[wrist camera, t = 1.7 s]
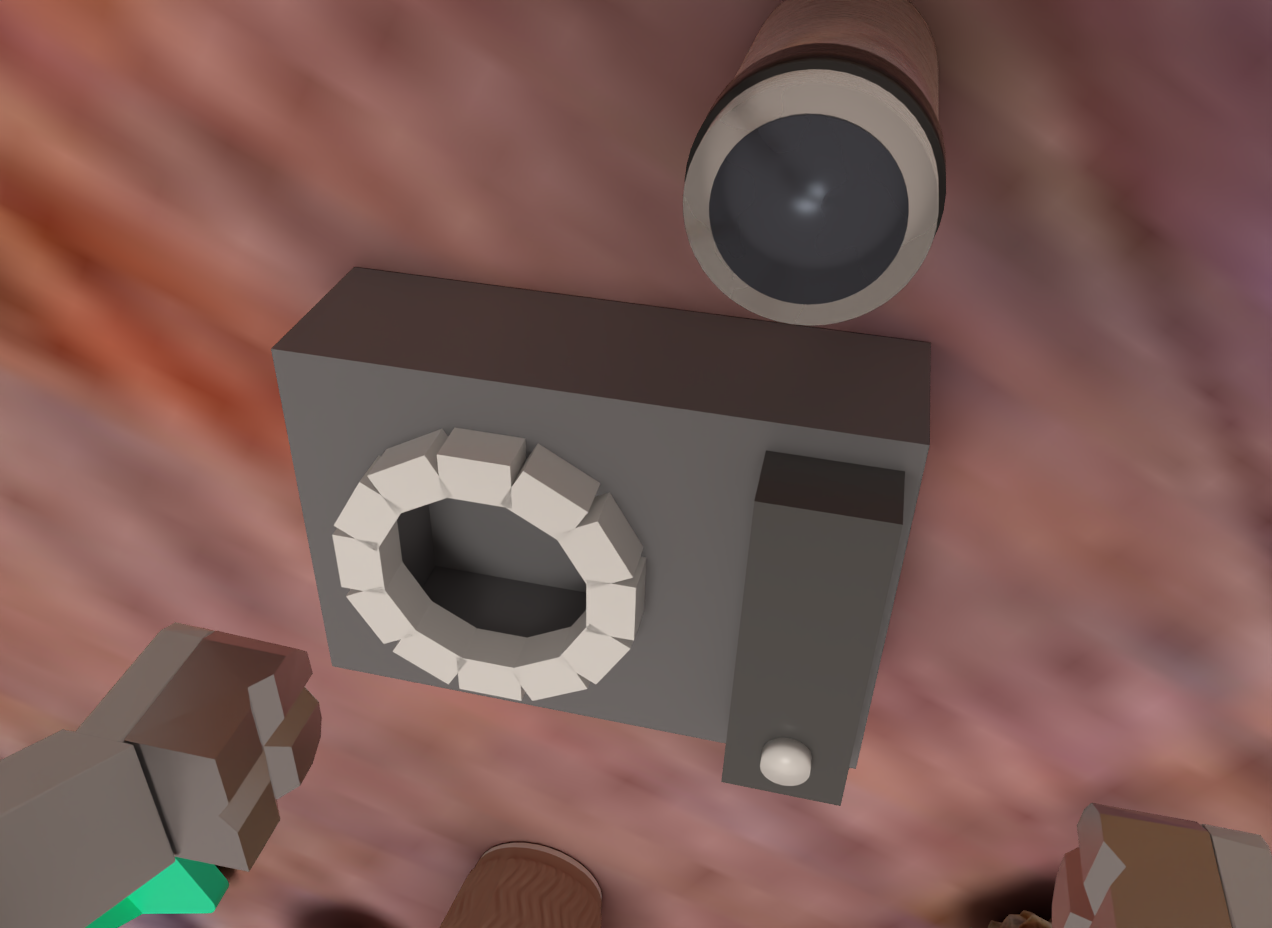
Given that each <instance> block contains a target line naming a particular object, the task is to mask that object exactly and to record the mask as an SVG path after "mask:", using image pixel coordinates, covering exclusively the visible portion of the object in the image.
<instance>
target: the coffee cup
mask: <svg viewBox="0 0 1272 928" xmlns="http://www.w3.org/2000/svg"><path fill="white" fill-rule="evenodd" d="M601 900H602V895H601V890H600V887H599V885H598V883H597V881H596V880H595V879H594V877H593V876H592V875H591V873H590V872H589V871H588V870H587V869H586V868H585V867H584V866H582V865H581V864H580V863H579V862H577V861H576V860H574V859H573V858H571V857H569V856H568V855H566V854H564V853H562V852H560V851H557V850H554V849H552V848H549V847H546V846H542V845H538V844H532V843H507V844H502V845H499V846H496V847H493V848H491V849H490V850H488V851H487V852H485V853H484V855H483V856H482V857H481V858H480V860H479V861H478V863H477V865H476V866H475V868H474V869H473V870H471V872H470V874H469V875H468V876H467V878H466V880H465V882H464V884H463V886H462V887H461V889H460V891H459V893H458V895H457V897H456V898H455V900H454V902H453V904H452V906H451V908H450V909H449V911H448V913H447V915H446V917H445V918H444V920H443V922H442V924H441V926H440V928H601V921H602V920H601V905H602V902H601Z"/></svg>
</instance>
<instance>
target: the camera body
mask: <svg viewBox="0 0 1272 928" xmlns="http://www.w3.org/2000/svg"><path fill="white" fill-rule="evenodd" d="M271 351H272V356H273V361H274V366H275V371H276V377H277V382H278V387H279V392H280V397H281V403H282V408H283V413H284V418H285V423H286V428H287V434H288V439H289V444H290V449H291V454H292V460H293V465H294V470H295V475H296V480H297V486H298V491H299V496H300V501H301V506H302V511H303V517H304V522H305V527H306V532H307V537H308V543H309V548H310V553H311V558H312V563H313V569H314V574H315V579H316V584H317V589H318V594H319V600H320V605H321V610H322V615H323V620H324V626H325V631H326V636H327V641H328V646H329V651H330V657H331V662H332V666H334V667H340V668H345V669H350V670H355V671H360V672H365V673H370V674H375V675H380V676H385V677H390V678H396V679H401V680H406V681H411V682H416V683H421V684H426V685H431V686H436V687H441V688H446V689H452V690H457V691H462V692H467V693H472V694H477V695H482V696H487V697H492V698H497V699H502V700H508V701H513V702H518V703H523V704H528V705H533V706H538V707H543V708H548V709H553V710H558V711H564V712H569V713H574V714H579V715H584V716H589V717H594V718H599V719H604V720H609V721H614V722H620V723H625V724H630V725H635V726H640V727H645V728H650V729H655V730H660V731H665V732H670V733H675V734H681V735H686V736H691V737H696V738H701V739H706V740H711V741H716V742H721V743H726V748H725V756H724V765H723V773H722V782H725V783H730V784H735V785H740V786H745V787H750V788H755V789H760V790H764V791H769V792H774V793H779V794H784V795H789V796H794V797H799V798H804V799H809V800H814V801H819V802H824V803H829V804H834V805H839V806H841V801H842V797H843V792H844V788H845V783H846V779H847V774H848V770H849V768H854V769H856V766H857V761H858V757H859V752H860V748H861V744H862V739H863V735H864V731H865V726H866V722H867V717H868V713H869V709H870V704H871V700H872V695H873V691H874V687H875V682H876V678H877V674H878V669H879V665H880V660H881V656H882V652H883V647H884V643H885V638H886V634H887V630H888V625H889V621H890V616H891V612H892V608H893V603H894V599H895V595H896V590H897V586H898V581H899V577H900V573H901V568H902V564H903V559H904V555H905V551H906V546H907V542H908V537H909V533H910V529H911V524H912V520H913V516H914V511H915V507H916V502H917V498H918V494H919V489H920V485H921V480H922V476H923V472H924V467H925V463H926V458H927V454H928V450H929V445H930V355H931V343H928V342H920V341H912V340H905V339H897V338H890V337H882V336H874V335H867V334H859V333H852V332H844V331H836V330H829V329H821V328H813V327H806V326H798V325H791V324H783V323H775V322H768V321H760V320H753V319H745V318H737V317H730V316H722V315H715V314H707V313H699V312H692V311H684V310H676V309H669V308H661V307H654V306H646V305H638V304H631V303H623V302H616V301H608V300H600V299H593V298H585V297H578V296H570V295H562V294H555V293H547V292H539V291H532V290H524V289H517V288H509V287H501V286H494V285H486V284H479V283H471V282H463V281H456V280H448V279H441V278H433V277H425V276H418V275H410V274H402V273H395V272H387V271H380V270H372V269H364V268H357V267H354V268H353V269H352V270H351V271H350V272H349V273H348V274H347V275H346V276H345V277H344V278H343V279H342V280H340V281H339V282H338V283H337V284H336V285H335V286H334V287H333V288H332V289H331V290H330V291H329V292H328V293H327V294H326V295H325V296H324V297H323V298H322V299H321V300H320V301H319V302H318V303H317V304H316V305H315V306H314V307H313V308H312V309H311V310H310V311H309V312H308V313H307V314H306V315H305V316H304V317H303V318H302V319H301V320H300V321H299V322H298V323H297V324H296V325H295V326H294V327H293V328H292V329H291V330H290V331H289V332H288V333H287V334H286V335H285V336H284V337H283V338H282V339H281V340H280V341H279V342H278V343H276V344H275V345H274V346H273V347H272V348H271Z"/></svg>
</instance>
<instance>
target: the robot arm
mask: <svg viewBox="0 0 1272 928" xmlns="http://www.w3.org/2000/svg"><path fill="white" fill-rule="evenodd" d="M312 674H313V673H312V669H311V665H310V661H309V658H308V654H307V652H306V651H303V650H299V649H296V648H291V647H287V646H282V645H278V644H273V643H269V642H264V641H260V640H256V639H251V638H247V637H242V636H238V635H233V634H229V633H224V632H220V631H214V630H209V629H205V628H200V627H195V626H190V625H186V624H181V623H176V622H175V623H174V624H172V625H170V626H168V627H166V628H164V629H162V630H161V631H160V632H159V633H158V634H157V635H156V636H155V638H154V639H153V640H152V641H151V642H150V644H149V645H148V646H147V647H146V648H145V649H144V651H143V652H142V653H141V654H140V655H139V657H138V658H137V659H136V660H135V661H134V663H133V664H132V665H131V666H130V667H129V668H128V670H127V671H126V672H125V673H124V674H123V676H122V677H121V678H120V679H119V680H118V681H117V683H116V684H115V685H114V686H113V687H112V689H111V690H110V691H109V692H108V693H107V695H106V696H105V697H104V698H103V699H102V700H101V702H100V703H99V704H98V705H97V706H96V708H95V709H94V710H93V711H92V712H91V714H90V715H89V716H88V717H87V718H86V719H85V721H84V722H83V723H82V724H81V725H80V727H79V728H78V729H77V730H76V731H75V732H74V731H69V730H61V731H59V732H57V733H55V734H53V735H51V736H49V737H47V738H45V739H43V740H41V741H39V742H37V743H35V744H32V745H30V746H28V747H26V748H24V749H22V750H20V751H18V752H16V753H14V754H12V755H10V756H8V757H6V758H4V759H2V760H0V928H85V927H86V926H88V925H89V924H91V923H92V922H93V921H95V920H96V919H97V918H99V917H100V916H101V915H103V914H104V913H106V912H107V911H108V910H110V909H111V908H112V907H114V906H115V905H117V904H118V903H119V902H121V901H122V900H123V899H125V898H126V897H127V896H129V895H130V894H132V893H133V892H134V891H136V890H137V889H138V888H140V887H141V886H143V885H144V884H145V883H147V882H148V881H149V880H151V879H152V878H153V877H155V876H156V875H158V874H159V873H160V872H162V871H163V870H164V869H166V868H167V867H169V866H170V865H171V864H173V863H174V862H175V857H179V858H184V859H189V860H194V861H199V862H204V863H209V864H214V865H219V866H224V867H229V868H233V869H238V870H243V871H248V872H249V871H250V869H251V868H252V866H253V864H254V863H255V861H256V859H257V858H258V856H259V854H260V853H261V851H262V849H263V848H264V846H265V844H266V842H267V841H268V839H269V837H270V836H271V834H272V832H273V831H274V829H275V827H276V826H277V824H278V822H279V821H280V816H279V810H278V803H277V799H279V798H280V797H282V796H284V795H285V794H287V793H289V792H290V791H292V790H294V789H295V788H297V787H299V786H300V785H301V783H302V781H303V780H304V778H305V776H306V774H307V772H308V771H309V769H310V767H311V765H312V764H313V760H314V757H315V754H316V751H317V747H318V744H319V741H320V738H321V719H322V717H321V712H320V707H319V702H318V701H317V700H316V699H315V697H314V696H313V695H312V694H311V693H310V692H309V691H308V690H307V689H306V688H305V687H304V686H305V685H306V683H307V682H308V680H309V678H310V677H311V675H312ZM1077 831H1078V840H1079V847H1078V848H1076V849H1074V850H1072V851H1070V852H1068V853H1066V854H1065V855H1064V857H1063V860H1062V863H1061V865H1060V868H1059V871H1058V873H1057V876H1056V882H1055V888H1054V894H1053V900H1052V928H1272V855H1271V852H1270V849H1269V846H1268V844H1267V843H1266V842H1265V841H1264V839H1263V838H1262V837H1261V836H1260V835H1257V834H1252V833H1247V832H1242V831H1237V830H1231V829H1226V828H1221V827H1216V826H1211V825H1206V824H1199V823H1197V822H1195V821H1189V820H1184V819H1178V818H1173V817H1168V816H1162V815H1157V814H1151V813H1146V812H1140V811H1135V810H1129V809H1124V808H1118V807H1113V806H1107V805H1102V804H1096V803H1091V804H1090V805H1089V806H1087V807H1086V808H1085V809H1084V811H1083V813H1082V815H1081V818H1080V820H1079V822H1078V824H1077Z"/></svg>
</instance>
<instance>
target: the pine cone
mask: <svg viewBox="0 0 1272 928" xmlns="http://www.w3.org/2000/svg"><path fill="white" fill-rule="evenodd" d="M970 928H972V927H970ZM988 928H1052V918H1051V919H1050V920H1049V921H1046V920H1044V919H1042V918H1040V917H1038V916H1036V915H1035V914H1034V913H1032V912H1028V911H1025V910H1023V911H1022V912H1021V913H1020V914H1019V915H1014V914H1009V915H1008V916H1007V917H1006V919H1005V920H1004V921H1003V923H1001V922H996V921H990V923H989V926H988Z"/></svg>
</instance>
